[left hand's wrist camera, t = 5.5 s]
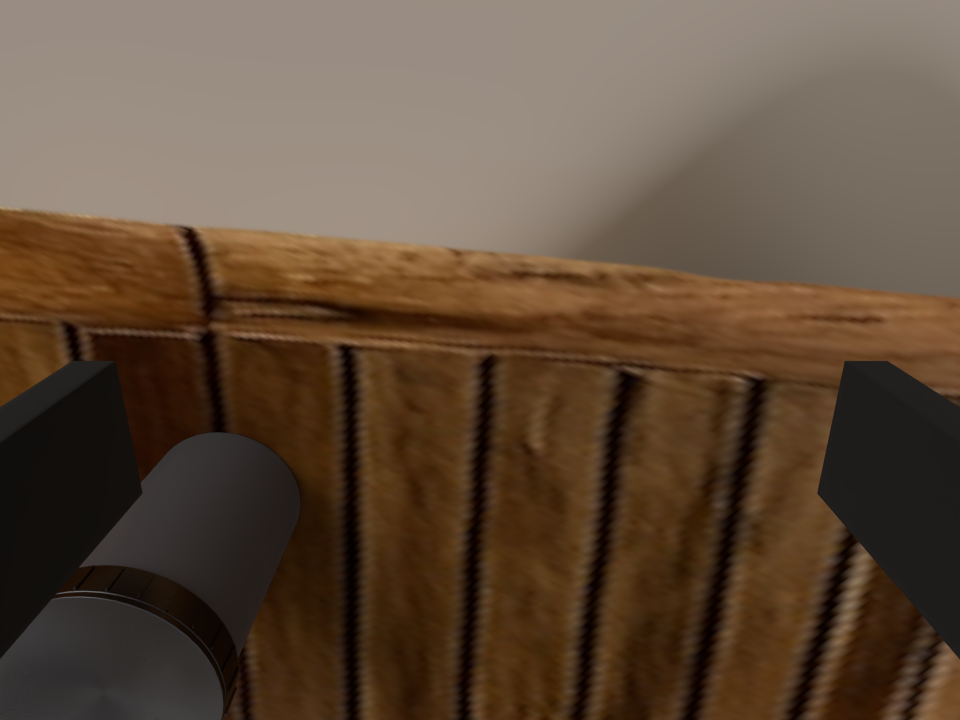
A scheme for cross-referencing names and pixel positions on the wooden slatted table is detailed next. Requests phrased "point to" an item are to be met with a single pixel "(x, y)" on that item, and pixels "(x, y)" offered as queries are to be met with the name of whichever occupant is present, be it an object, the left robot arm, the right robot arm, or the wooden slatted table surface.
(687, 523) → the wooden slatted table surface
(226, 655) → the lid
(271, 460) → the jar
